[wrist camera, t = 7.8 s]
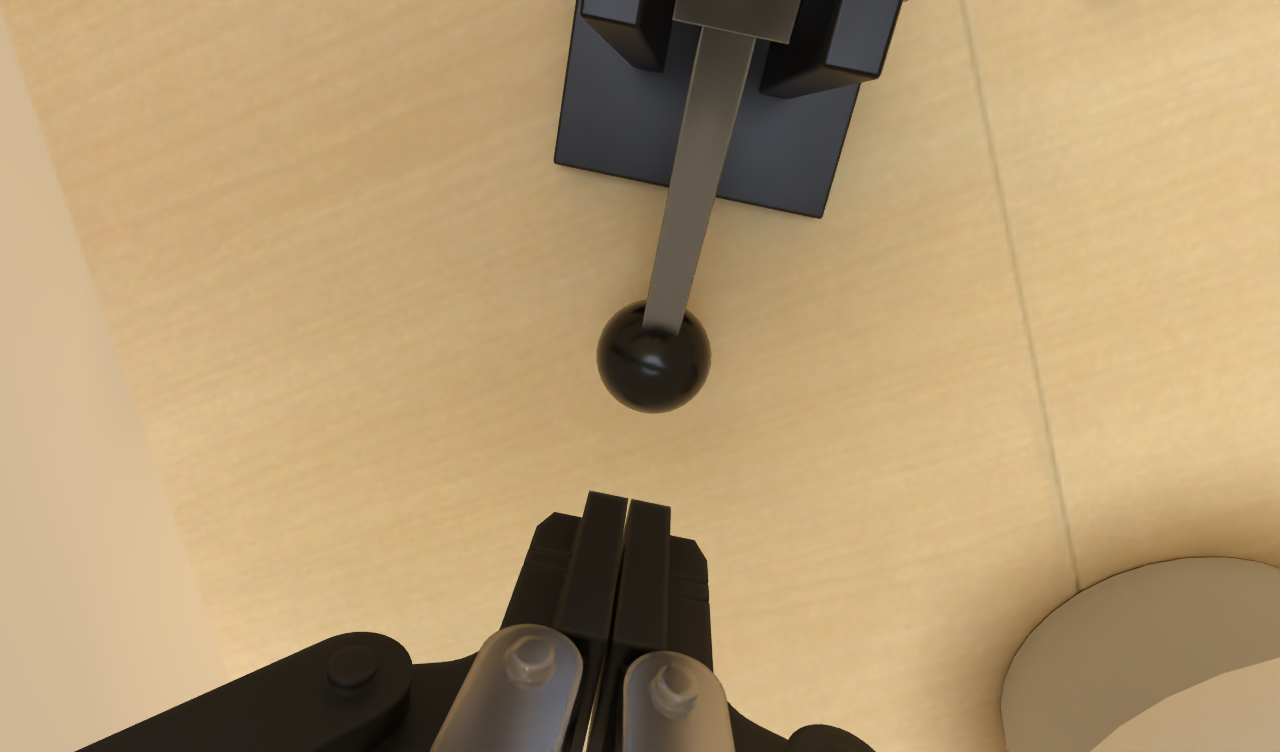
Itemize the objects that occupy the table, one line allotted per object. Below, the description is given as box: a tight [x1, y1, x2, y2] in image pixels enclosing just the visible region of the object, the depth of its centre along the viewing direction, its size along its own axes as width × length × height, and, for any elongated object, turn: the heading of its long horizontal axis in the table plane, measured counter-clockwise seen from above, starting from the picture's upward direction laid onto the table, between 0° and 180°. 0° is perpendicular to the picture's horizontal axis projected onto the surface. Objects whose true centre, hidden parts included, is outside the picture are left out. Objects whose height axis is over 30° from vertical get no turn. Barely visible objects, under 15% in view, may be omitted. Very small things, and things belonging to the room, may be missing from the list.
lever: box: [597, 0, 803, 414], centre depth 17 cm, size 15×4×4 cm
